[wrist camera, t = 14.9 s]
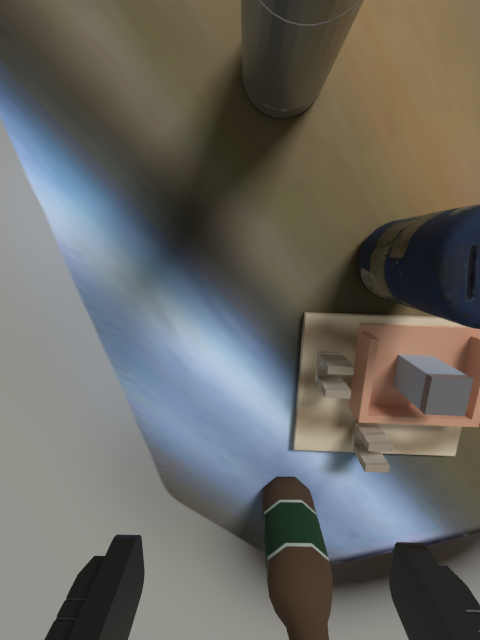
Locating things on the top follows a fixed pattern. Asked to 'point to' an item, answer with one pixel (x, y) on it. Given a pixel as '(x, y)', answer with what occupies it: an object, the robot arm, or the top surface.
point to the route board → (335, 392)
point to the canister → (428, 264)
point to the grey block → (433, 385)
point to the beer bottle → (296, 560)
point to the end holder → (380, 366)
